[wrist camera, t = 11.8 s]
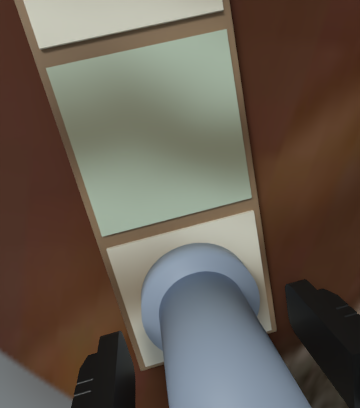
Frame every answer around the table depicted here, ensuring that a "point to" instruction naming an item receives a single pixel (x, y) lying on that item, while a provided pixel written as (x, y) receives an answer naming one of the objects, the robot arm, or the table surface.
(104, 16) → the board
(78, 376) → the robot arm
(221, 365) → the pawn
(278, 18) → the table surface
